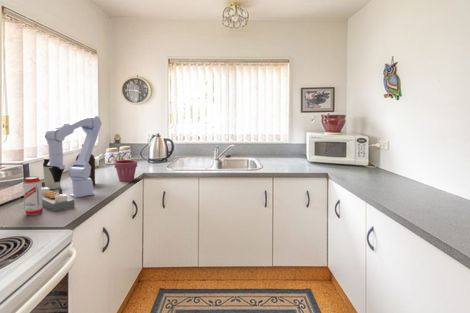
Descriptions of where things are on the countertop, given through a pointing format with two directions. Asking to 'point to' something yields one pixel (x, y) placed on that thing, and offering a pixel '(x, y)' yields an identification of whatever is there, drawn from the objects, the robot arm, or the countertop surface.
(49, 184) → the travel mug
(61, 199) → the right plug
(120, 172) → the plant pot
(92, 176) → the olive oil
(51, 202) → the power strip
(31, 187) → the beer can
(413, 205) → the countertop surface
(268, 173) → the countertop surface
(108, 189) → the countertop surface
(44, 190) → the left plug
